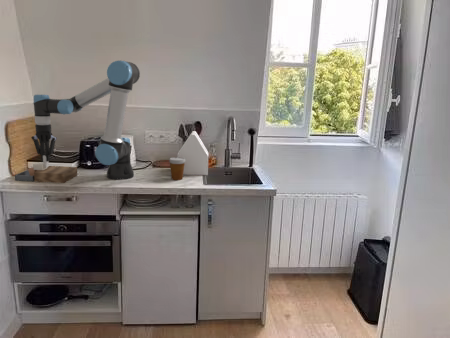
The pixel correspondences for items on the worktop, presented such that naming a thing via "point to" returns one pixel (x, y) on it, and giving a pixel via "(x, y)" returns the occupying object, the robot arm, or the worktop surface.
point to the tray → (24, 176)
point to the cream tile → (39, 166)
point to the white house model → (194, 156)
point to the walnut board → (55, 174)
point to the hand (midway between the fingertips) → (46, 166)
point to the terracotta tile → (31, 171)
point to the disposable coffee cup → (177, 167)
